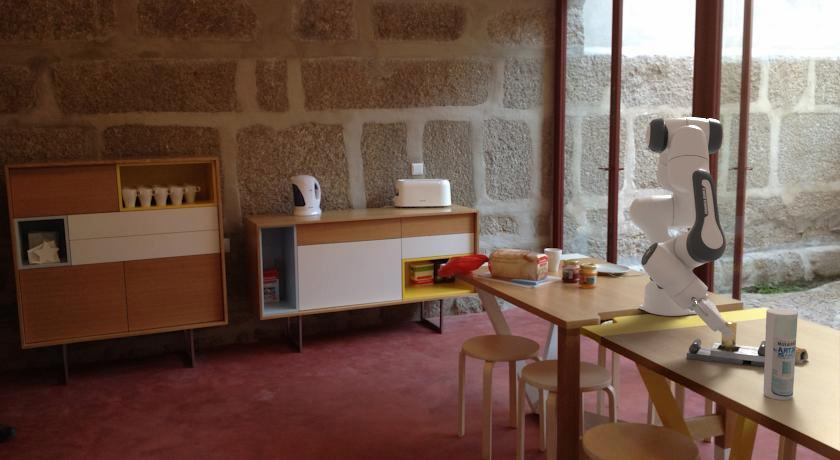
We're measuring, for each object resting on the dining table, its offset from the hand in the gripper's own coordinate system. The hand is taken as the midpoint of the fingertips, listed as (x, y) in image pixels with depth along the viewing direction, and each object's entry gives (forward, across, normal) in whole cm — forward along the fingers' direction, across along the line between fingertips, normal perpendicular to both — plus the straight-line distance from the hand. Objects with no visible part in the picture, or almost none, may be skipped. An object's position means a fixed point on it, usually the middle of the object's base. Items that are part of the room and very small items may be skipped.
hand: (728, 331), depth 208 cm
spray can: (+11, -27, 0) cm, 29 cm away
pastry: (+17, +3, -6) cm, 18 cm away
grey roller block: (+6, 0, +5) cm, 8 cm away
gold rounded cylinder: (+6, 0, +5) cm, 8 cm away
